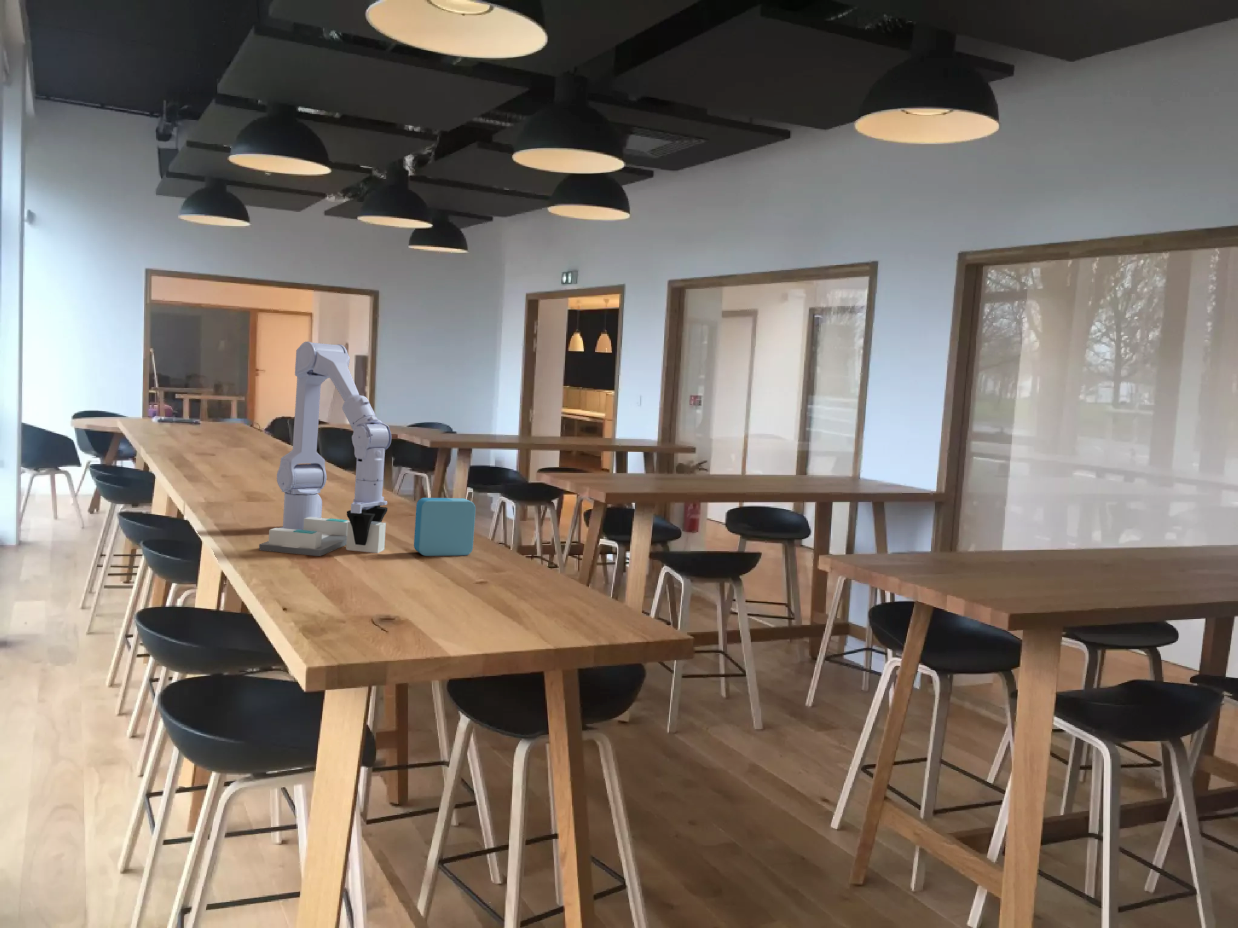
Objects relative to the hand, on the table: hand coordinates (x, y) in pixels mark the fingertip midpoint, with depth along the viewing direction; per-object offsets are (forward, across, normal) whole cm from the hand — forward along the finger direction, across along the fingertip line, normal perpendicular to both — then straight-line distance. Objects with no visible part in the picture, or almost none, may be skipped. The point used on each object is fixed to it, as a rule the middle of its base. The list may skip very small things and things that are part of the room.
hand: (365, 542), depth 207 cm
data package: (+2, +4, -16) cm, 17 cm away
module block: (+2, 0, 0) cm, 2 cm away
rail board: (+2, 0, +12) cm, 12 cm away
